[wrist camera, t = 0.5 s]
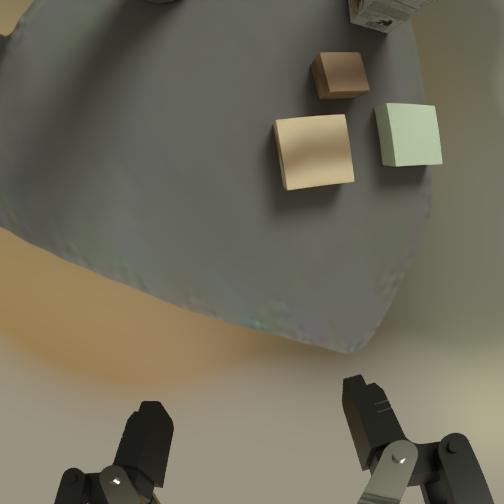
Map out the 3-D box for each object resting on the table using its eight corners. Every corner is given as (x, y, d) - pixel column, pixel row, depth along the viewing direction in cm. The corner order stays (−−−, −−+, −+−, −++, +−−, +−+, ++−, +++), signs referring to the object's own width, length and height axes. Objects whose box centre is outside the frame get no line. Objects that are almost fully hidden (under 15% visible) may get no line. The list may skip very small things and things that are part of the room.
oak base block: (272, 124, 31) (275, 120, 27) (334, 118, 31) (344, 114, 27) (283, 186, 34) (287, 190, 30) (343, 178, 33) (354, 181, 30)
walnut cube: (310, 65, 28) (319, 52, 24) (345, 64, 28) (359, 52, 23) (318, 100, 30) (330, 91, 25) (354, 98, 30) (370, 90, 25)
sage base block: (373, 107, 30) (386, 103, 26) (418, 109, 30) (434, 106, 26) (381, 164, 33) (395, 166, 29) (426, 162, 32) (442, 163, 29)
